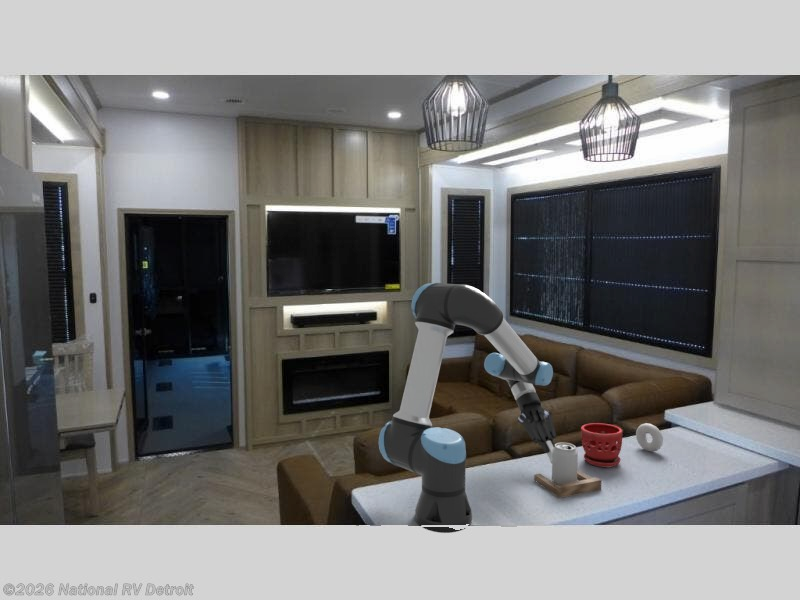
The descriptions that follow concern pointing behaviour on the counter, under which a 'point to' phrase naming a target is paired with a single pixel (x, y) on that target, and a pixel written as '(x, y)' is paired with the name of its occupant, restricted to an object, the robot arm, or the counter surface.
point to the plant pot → (601, 444)
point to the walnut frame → (570, 485)
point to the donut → (653, 432)
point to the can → (564, 463)
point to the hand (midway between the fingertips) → (555, 461)
